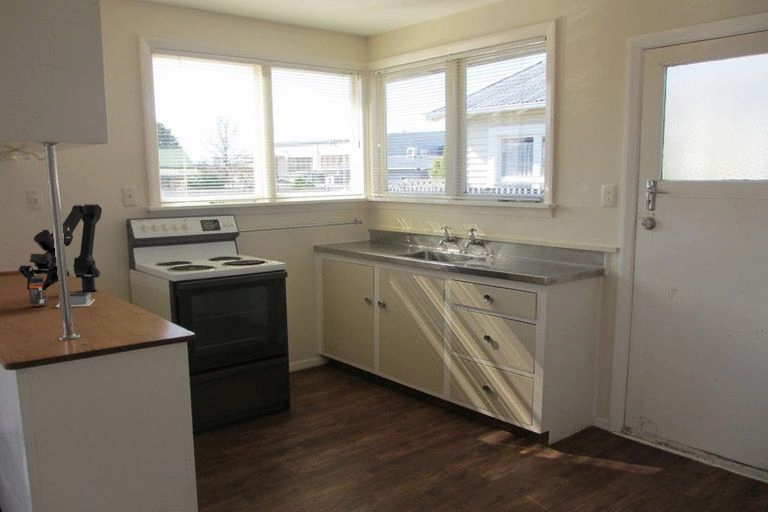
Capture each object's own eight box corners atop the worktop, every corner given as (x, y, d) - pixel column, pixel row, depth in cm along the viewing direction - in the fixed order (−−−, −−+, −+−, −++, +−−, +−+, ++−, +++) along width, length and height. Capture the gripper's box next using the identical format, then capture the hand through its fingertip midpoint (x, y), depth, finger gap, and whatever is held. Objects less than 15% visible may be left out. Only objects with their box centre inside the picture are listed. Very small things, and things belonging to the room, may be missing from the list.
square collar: (62, 301, 253) (62, 293, 252) (94, 300, 256) (94, 291, 255) (55, 307, 241) (55, 298, 241) (89, 305, 244) (88, 296, 244)
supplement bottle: (47, 305, 243) (45, 277, 241) (29, 307, 240) (27, 278, 239) (48, 303, 248) (45, 275, 246) (31, 304, 245) (28, 276, 244)
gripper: (19, 245, 246) (1, 277, 236) (62, 245, 244) (46, 278, 234) (34, 261, 255) (17, 293, 245) (76, 262, 252) (61, 294, 243)
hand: (35, 289), depth 242 cm, fingers closed on supplement bottle, 6 cm apart
